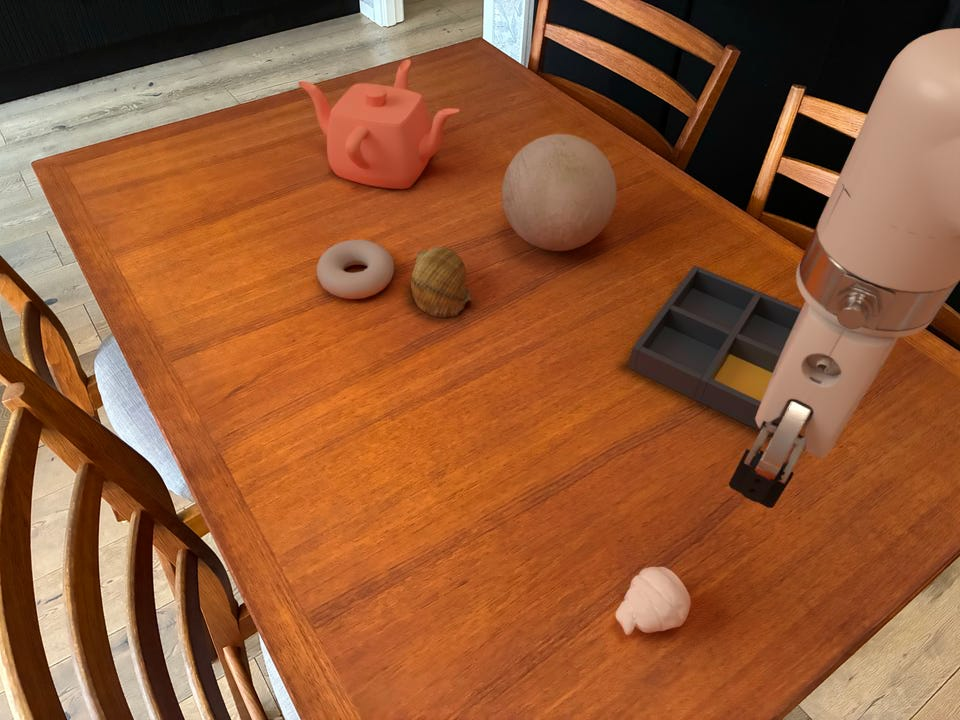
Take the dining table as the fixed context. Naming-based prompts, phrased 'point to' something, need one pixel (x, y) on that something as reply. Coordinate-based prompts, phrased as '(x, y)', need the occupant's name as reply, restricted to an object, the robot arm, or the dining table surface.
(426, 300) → the seashell
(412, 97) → the pot
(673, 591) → the garlic bulb
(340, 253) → the donut
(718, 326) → the grid
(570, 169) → the decorative sphere
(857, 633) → the dining table surface
